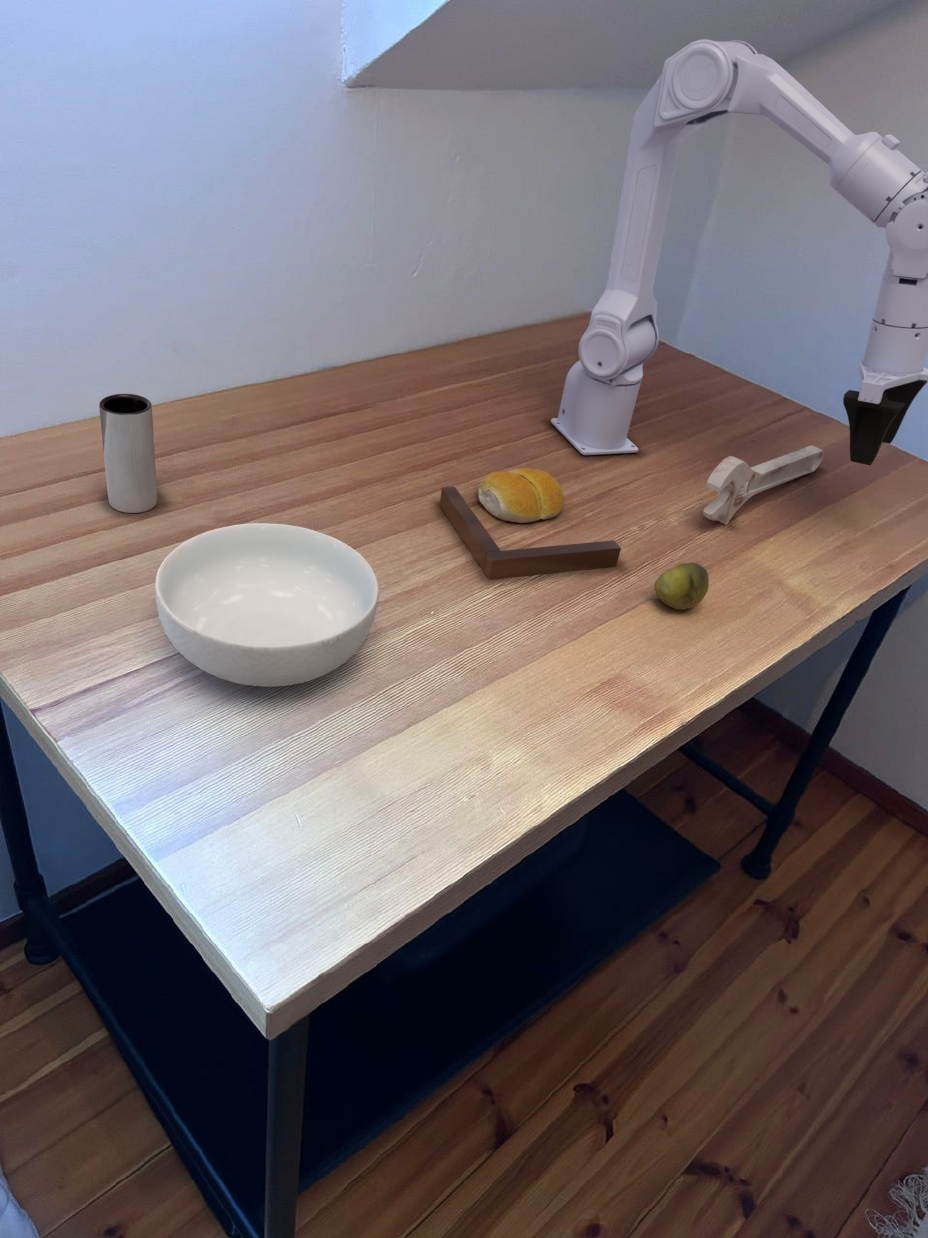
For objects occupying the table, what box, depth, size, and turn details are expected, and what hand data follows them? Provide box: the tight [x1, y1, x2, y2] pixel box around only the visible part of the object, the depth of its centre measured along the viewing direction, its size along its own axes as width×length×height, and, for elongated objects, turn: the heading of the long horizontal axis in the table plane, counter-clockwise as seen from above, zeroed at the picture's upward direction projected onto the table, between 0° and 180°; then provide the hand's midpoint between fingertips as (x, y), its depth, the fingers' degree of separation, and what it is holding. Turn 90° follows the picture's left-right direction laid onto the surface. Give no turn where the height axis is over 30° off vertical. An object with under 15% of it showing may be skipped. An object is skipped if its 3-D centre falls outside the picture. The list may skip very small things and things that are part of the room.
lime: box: [654, 562, 710, 610], centre depth 89 cm, size 4×5×5 cm
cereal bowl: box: [154, 522, 380, 688], centre depth 75 cm, size 17×17×7 cm
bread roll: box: [477, 467, 564, 524], centre depth 101 cm, size 8×9×4 cm
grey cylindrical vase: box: [98, 393, 158, 514], centre depth 89 cm, size 4×4×10 cm
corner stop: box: [439, 486, 622, 580], centre depth 97 cm, size 14×14×2 cm
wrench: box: [702, 445, 825, 526], centre depth 110 cm, size 8×2×30 cm
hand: (871, 451), depth 100 cm, fingers open, 7 cm apart
